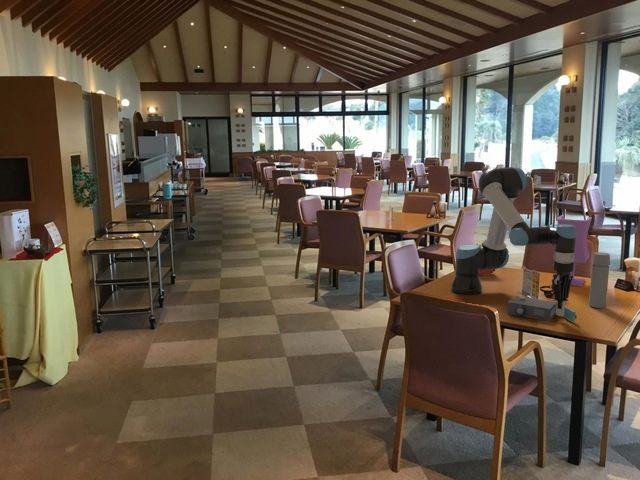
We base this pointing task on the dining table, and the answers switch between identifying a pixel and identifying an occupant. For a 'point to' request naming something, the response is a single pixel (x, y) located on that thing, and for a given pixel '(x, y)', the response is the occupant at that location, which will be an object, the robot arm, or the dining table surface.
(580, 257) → the purple table lamp
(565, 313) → the side door
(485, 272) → the french fries container
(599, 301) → the water bottle
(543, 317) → the block
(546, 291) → the binoculars
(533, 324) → the dining table surface
